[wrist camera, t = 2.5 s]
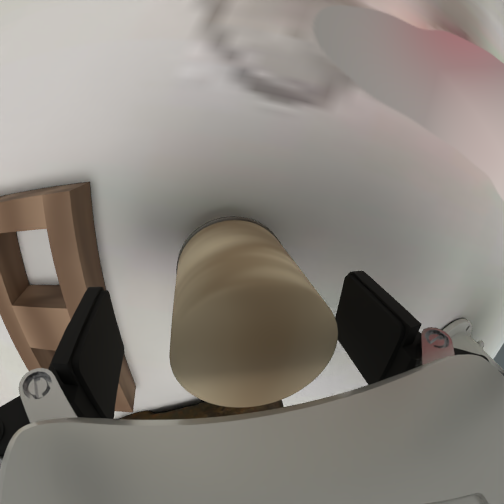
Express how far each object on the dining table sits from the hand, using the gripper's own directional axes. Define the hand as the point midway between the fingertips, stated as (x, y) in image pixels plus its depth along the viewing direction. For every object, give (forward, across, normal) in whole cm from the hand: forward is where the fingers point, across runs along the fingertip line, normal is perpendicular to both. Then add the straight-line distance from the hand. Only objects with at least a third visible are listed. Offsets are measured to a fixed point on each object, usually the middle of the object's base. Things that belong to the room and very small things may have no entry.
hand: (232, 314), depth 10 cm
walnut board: (+8, +12, +5) cm, 15 cm away
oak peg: (+8, -1, 0) cm, 8 cm away
